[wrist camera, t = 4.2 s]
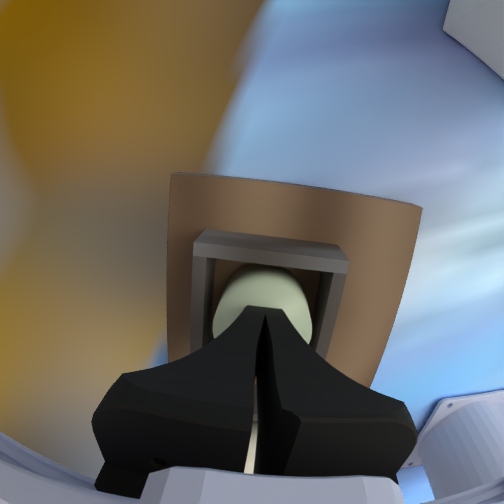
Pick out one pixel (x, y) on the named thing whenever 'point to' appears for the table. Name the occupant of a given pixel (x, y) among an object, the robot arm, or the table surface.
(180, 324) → the panel
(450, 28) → the milk carton
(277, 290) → the sage button
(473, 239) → the table surface
